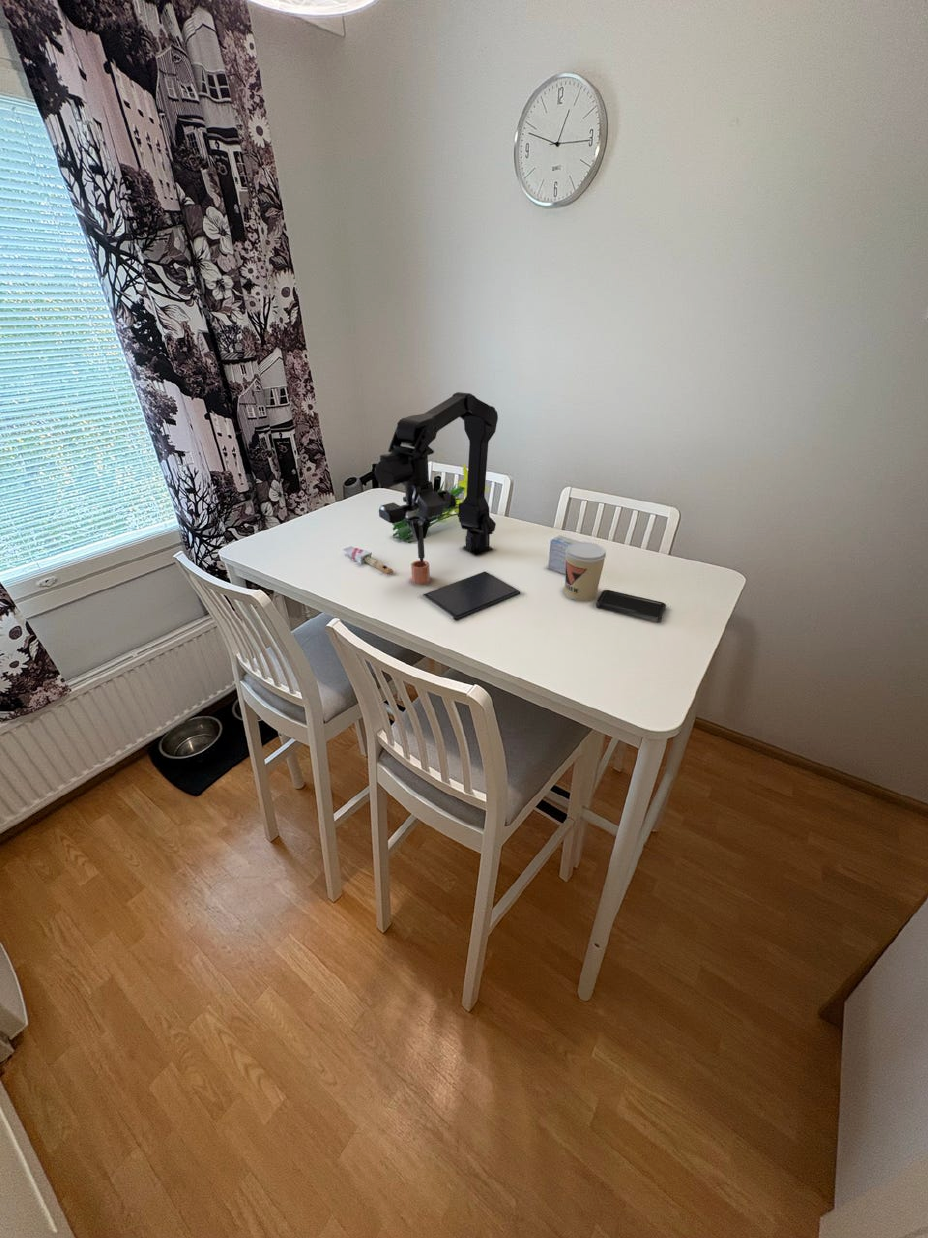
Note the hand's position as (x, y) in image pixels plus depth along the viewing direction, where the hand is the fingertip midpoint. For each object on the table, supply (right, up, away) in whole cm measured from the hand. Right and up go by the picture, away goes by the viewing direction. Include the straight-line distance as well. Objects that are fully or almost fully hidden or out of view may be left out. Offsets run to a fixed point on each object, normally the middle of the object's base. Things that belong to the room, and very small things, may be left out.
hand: (420, 539), depth 122 cm
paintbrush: (-16, -5, +16) cm, 23 cm away
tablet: (+13, -14, 0) cm, 19 cm away
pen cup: (0, -10, +7) cm, 12 cm away
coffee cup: (+40, -14, +1) cm, 42 cm away
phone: (+51, -17, -5) cm, 54 cm away
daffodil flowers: (+3, +9, +36) cm, 37 cm away
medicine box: (+38, -7, +11) cm, 40 cm away
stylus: (0, -5, +3) cm, 6 cm away
